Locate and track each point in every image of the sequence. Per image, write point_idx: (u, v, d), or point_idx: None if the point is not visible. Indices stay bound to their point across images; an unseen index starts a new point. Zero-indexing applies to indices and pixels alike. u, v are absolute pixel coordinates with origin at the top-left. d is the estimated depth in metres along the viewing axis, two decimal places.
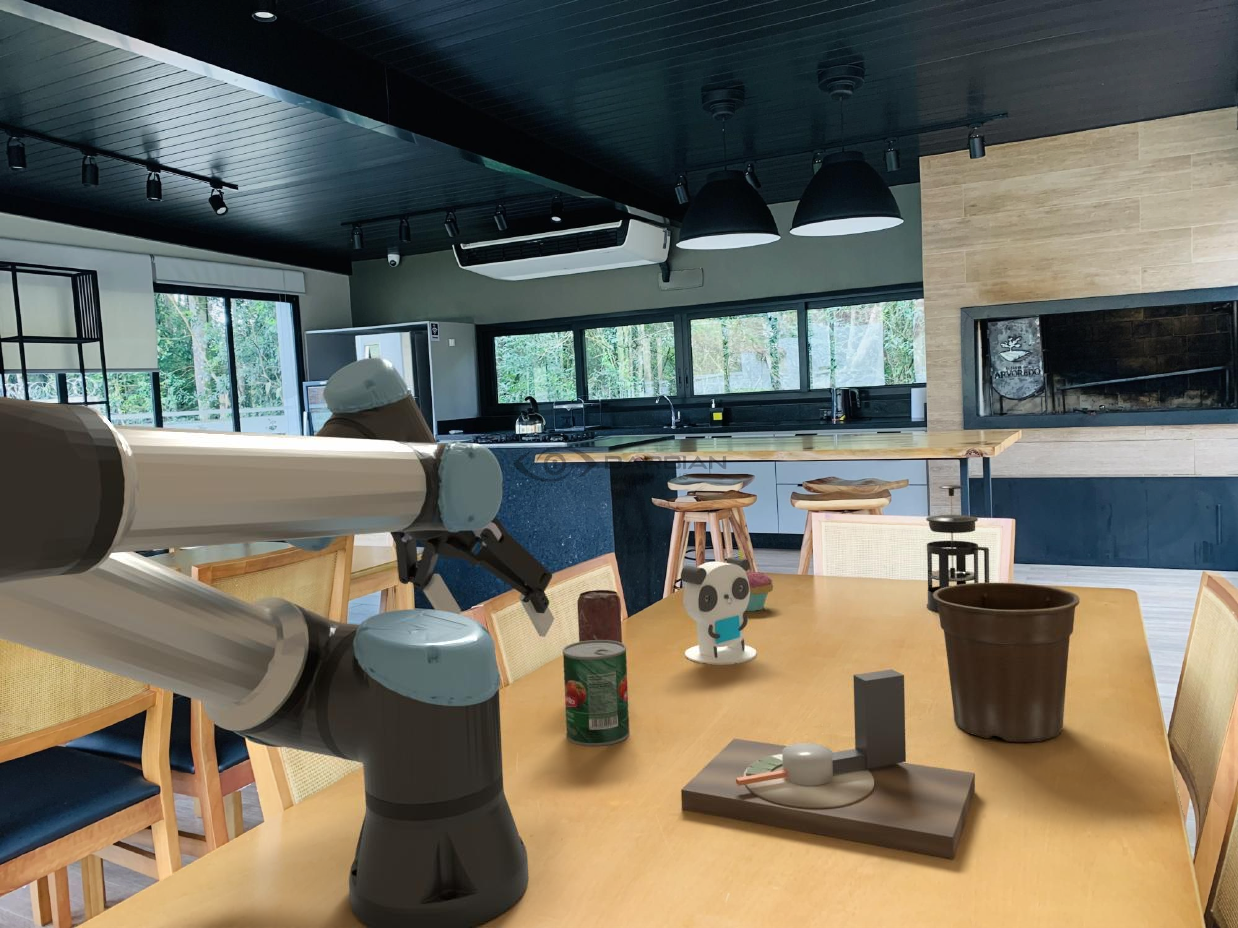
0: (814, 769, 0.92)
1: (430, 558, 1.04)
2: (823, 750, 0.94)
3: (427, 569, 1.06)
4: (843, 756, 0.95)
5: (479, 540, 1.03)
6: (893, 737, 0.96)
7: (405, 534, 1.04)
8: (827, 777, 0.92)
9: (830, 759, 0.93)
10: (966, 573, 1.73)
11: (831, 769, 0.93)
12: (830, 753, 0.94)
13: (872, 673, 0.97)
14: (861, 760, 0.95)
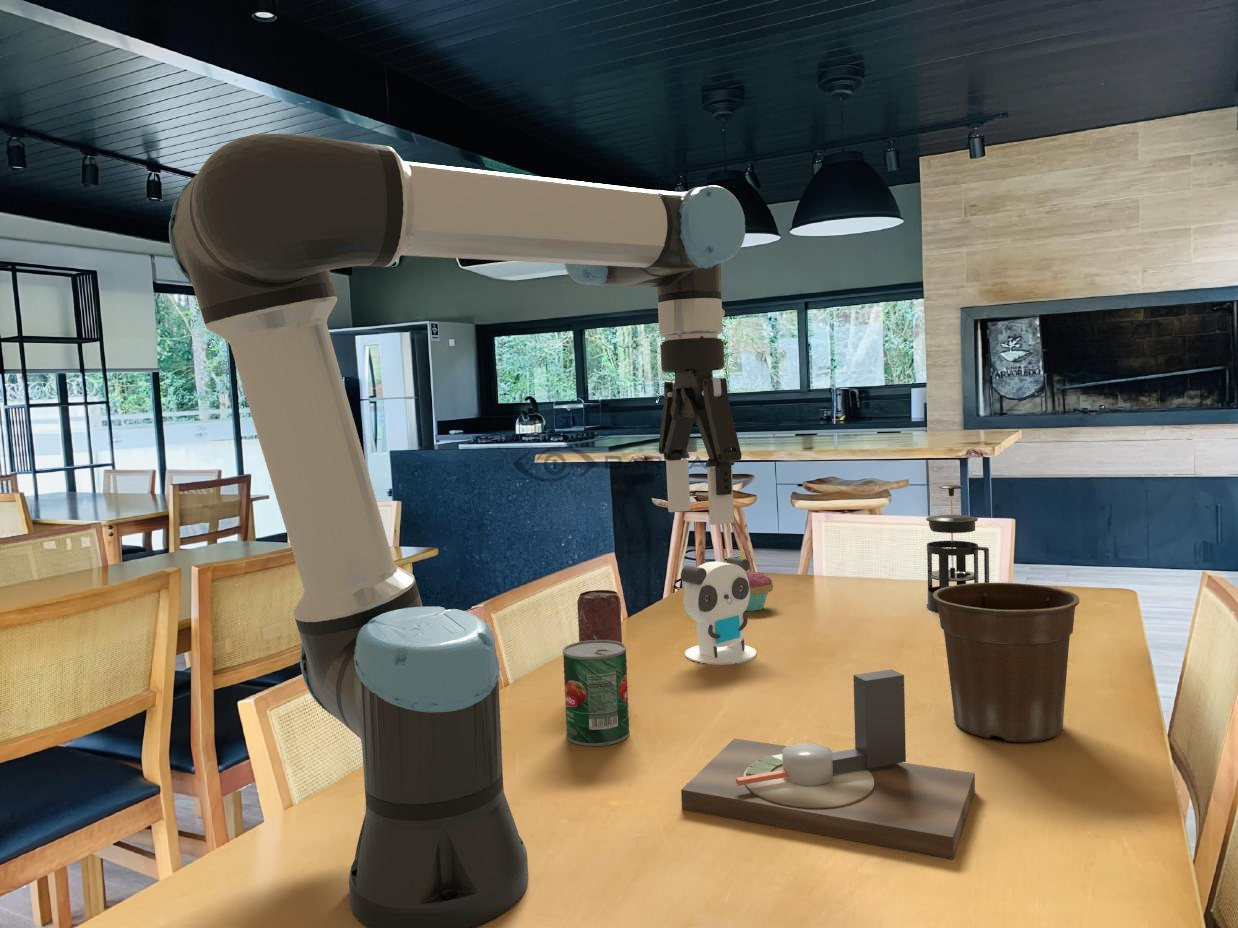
0: (814, 769, 0.92)
1: (673, 412, 1.12)
2: (823, 750, 0.94)
3: (672, 432, 1.15)
4: (843, 756, 0.95)
5: None
6: (893, 737, 0.96)
7: (672, 391, 1.15)
8: (827, 777, 0.92)
9: (830, 759, 0.93)
10: (966, 573, 1.73)
11: (831, 769, 0.93)
12: (830, 753, 0.94)
13: (872, 673, 0.97)
14: (861, 760, 0.95)
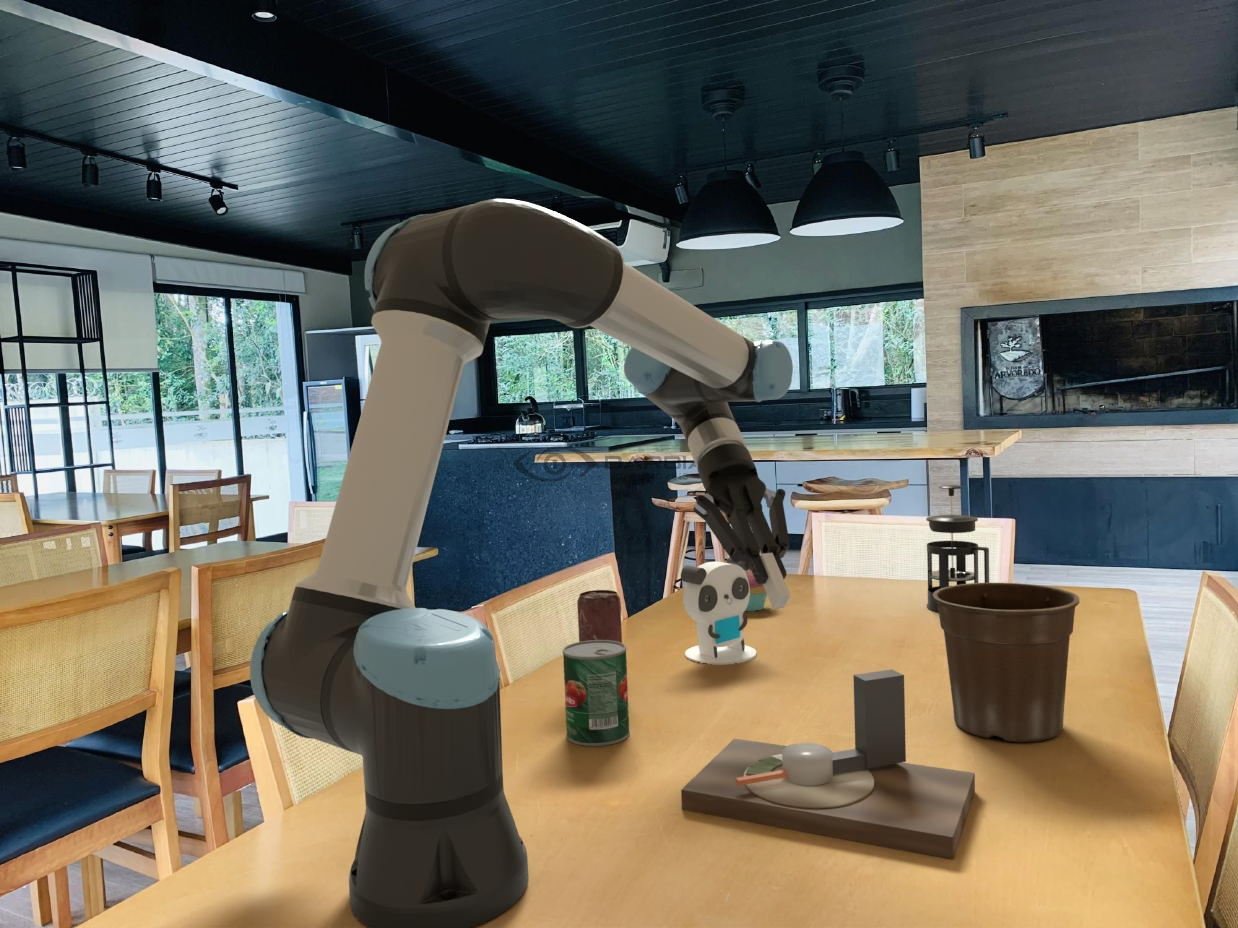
0: (814, 769, 0.92)
1: (741, 502, 1.21)
2: (823, 750, 0.94)
3: (748, 523, 1.19)
4: (843, 756, 0.95)
5: None
6: (893, 737, 0.96)
7: None
8: (827, 777, 0.92)
9: (830, 759, 0.93)
10: (966, 573, 1.73)
11: (831, 769, 0.93)
12: (830, 753, 0.94)
13: (872, 673, 0.97)
14: (861, 760, 0.95)
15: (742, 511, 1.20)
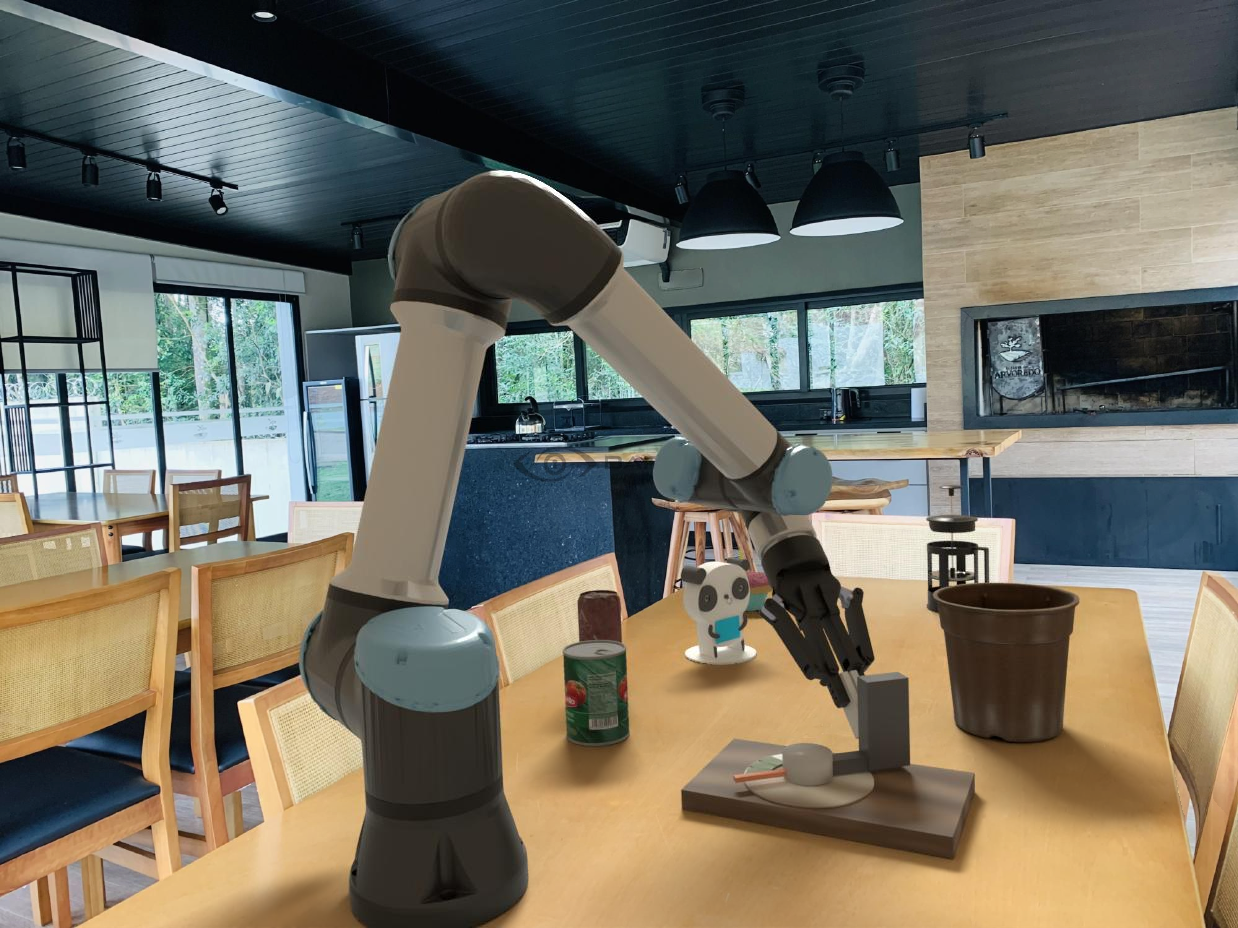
0: (812, 769, 0.92)
1: (815, 606, 1.05)
2: (823, 751, 0.94)
3: (824, 633, 1.04)
4: (844, 757, 0.95)
5: None
6: (897, 740, 0.95)
7: None
8: (826, 777, 0.92)
9: (829, 760, 0.93)
10: (966, 573, 1.73)
11: (830, 770, 0.93)
12: (830, 754, 0.93)
13: (876, 675, 0.96)
14: (863, 762, 0.94)
15: (817, 618, 1.05)
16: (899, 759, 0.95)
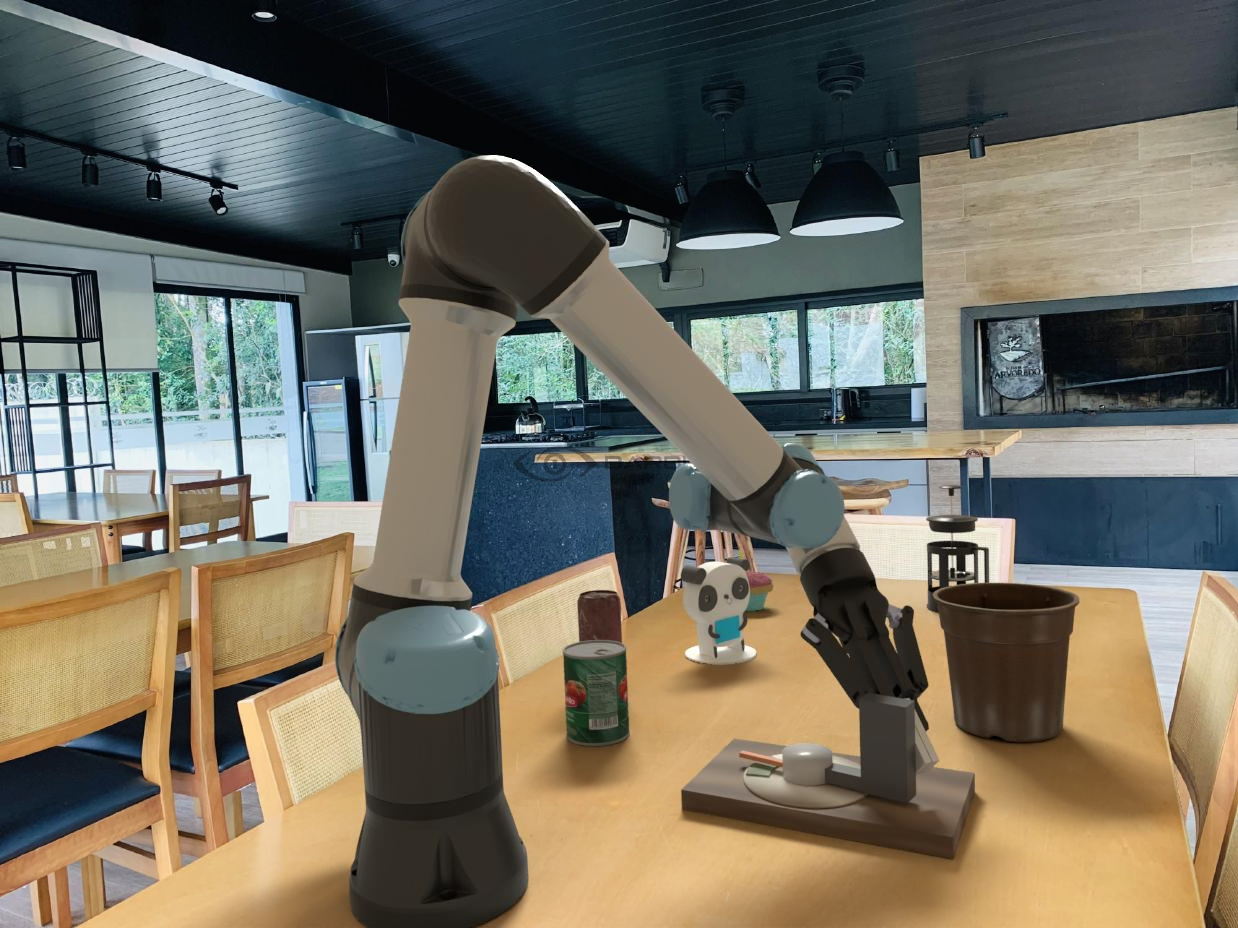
0: (791, 766, 0.93)
1: (862, 627, 0.95)
2: (820, 756, 0.93)
3: (873, 657, 0.94)
4: (841, 770, 0.91)
5: None
6: (892, 771, 0.87)
7: None
8: (806, 780, 0.92)
9: (812, 764, 0.92)
10: (966, 573, 1.73)
11: (814, 775, 0.92)
12: (819, 760, 0.92)
13: (885, 697, 0.89)
14: (856, 781, 0.90)
15: (865, 639, 0.95)
16: (895, 792, 0.87)
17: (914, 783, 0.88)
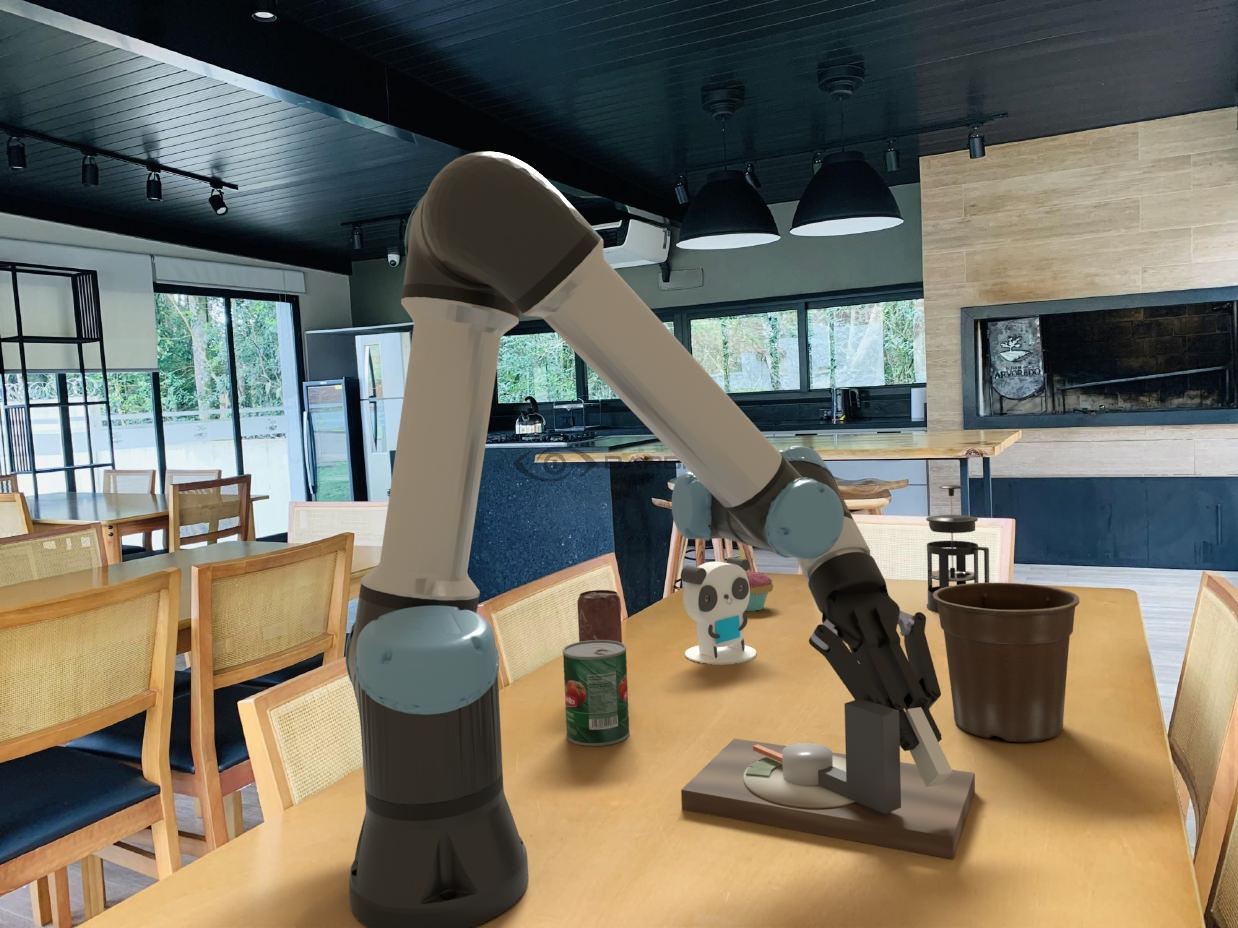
0: (786, 764, 0.93)
1: (873, 633, 0.92)
2: (816, 757, 0.93)
3: (884, 664, 0.91)
4: (833, 773, 0.91)
5: None
6: (872, 780, 0.86)
7: None
8: (798, 779, 0.92)
9: (804, 764, 0.92)
10: (966, 573, 1.73)
11: (806, 775, 0.92)
12: (812, 761, 0.92)
13: (872, 704, 0.87)
14: (843, 786, 0.89)
15: (875, 646, 0.92)
16: (874, 801, 0.86)
17: (898, 795, 0.86)
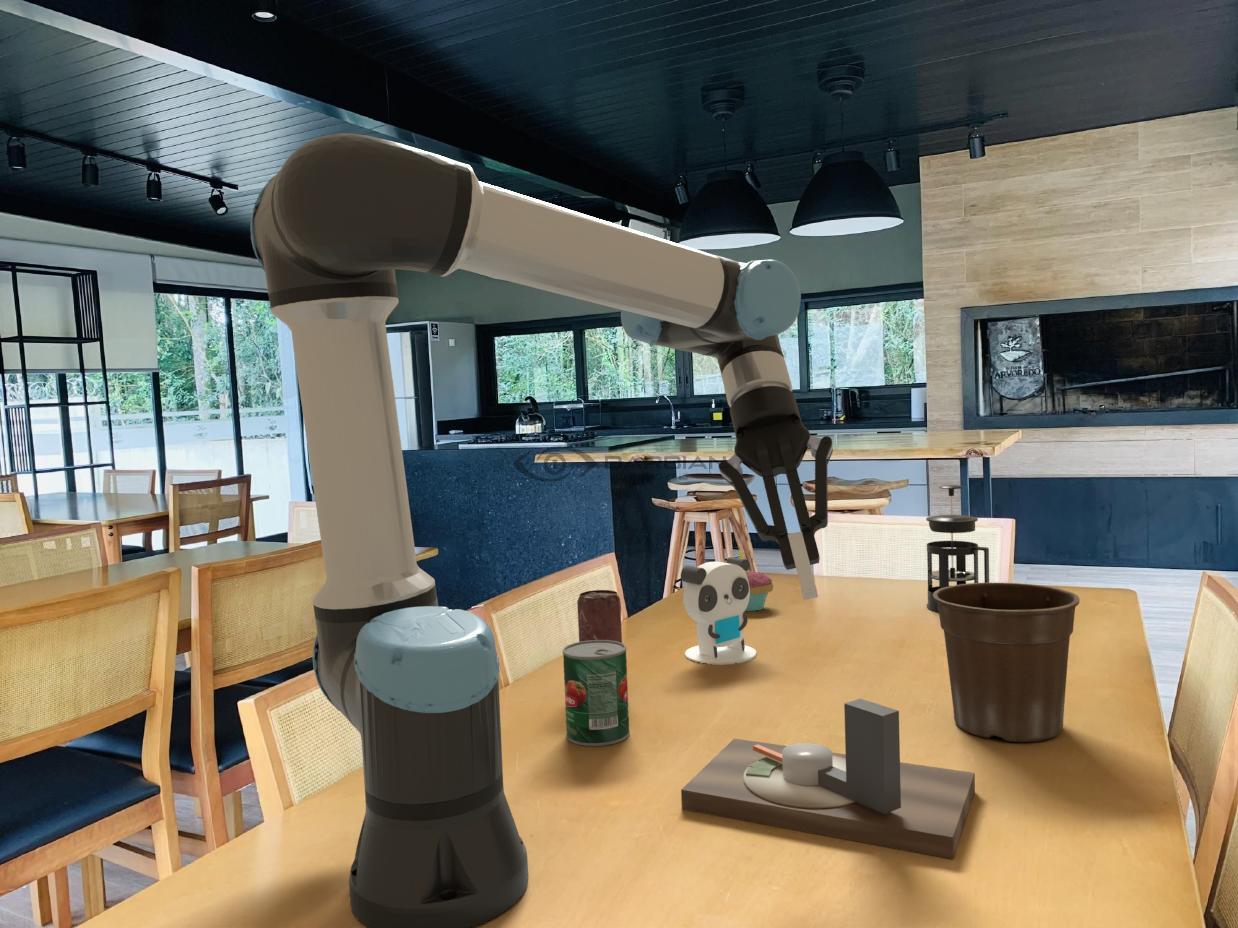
0: (786, 764, 0.93)
1: (769, 465, 1.01)
2: (816, 757, 0.93)
3: (776, 493, 1.00)
4: (833, 773, 0.91)
5: None
6: (872, 780, 0.86)
7: None
8: (798, 779, 0.92)
9: (804, 764, 0.92)
10: (966, 573, 1.73)
11: (806, 775, 0.92)
12: (812, 761, 0.92)
13: (872, 704, 0.87)
14: (843, 786, 0.89)
15: (771, 477, 1.00)
16: (874, 801, 0.86)
17: (897, 795, 0.86)
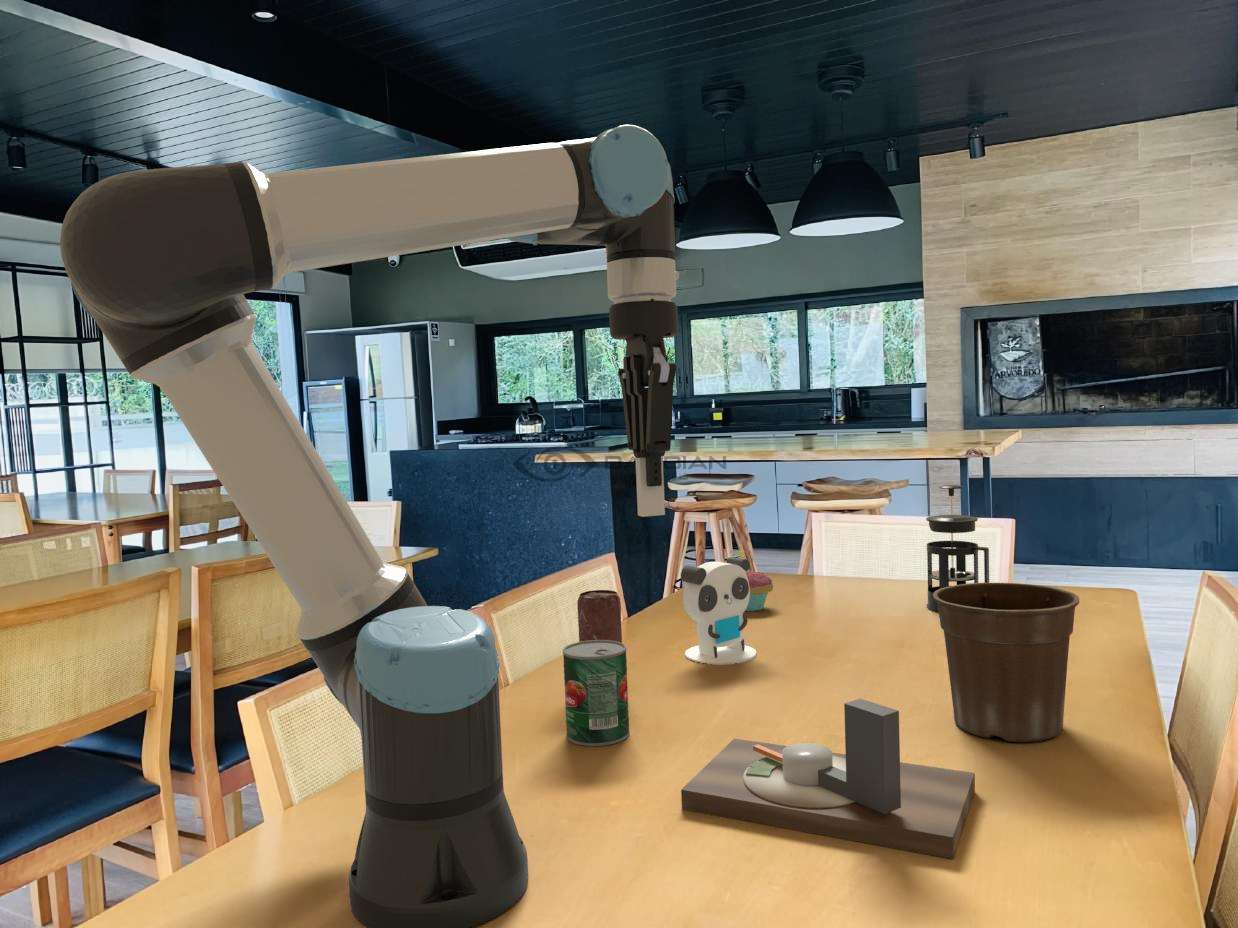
0: (786, 764, 0.93)
1: (629, 384, 1.03)
2: (816, 757, 0.93)
3: (634, 413, 1.03)
4: (833, 773, 0.91)
5: None
6: (872, 780, 0.86)
7: None
8: (798, 779, 0.92)
9: (804, 764, 0.92)
10: (966, 573, 1.73)
11: (806, 775, 0.92)
12: (812, 761, 0.92)
13: (872, 704, 0.87)
14: (843, 786, 0.89)
15: (632, 396, 1.03)
16: (874, 801, 0.86)
17: (897, 795, 0.86)
